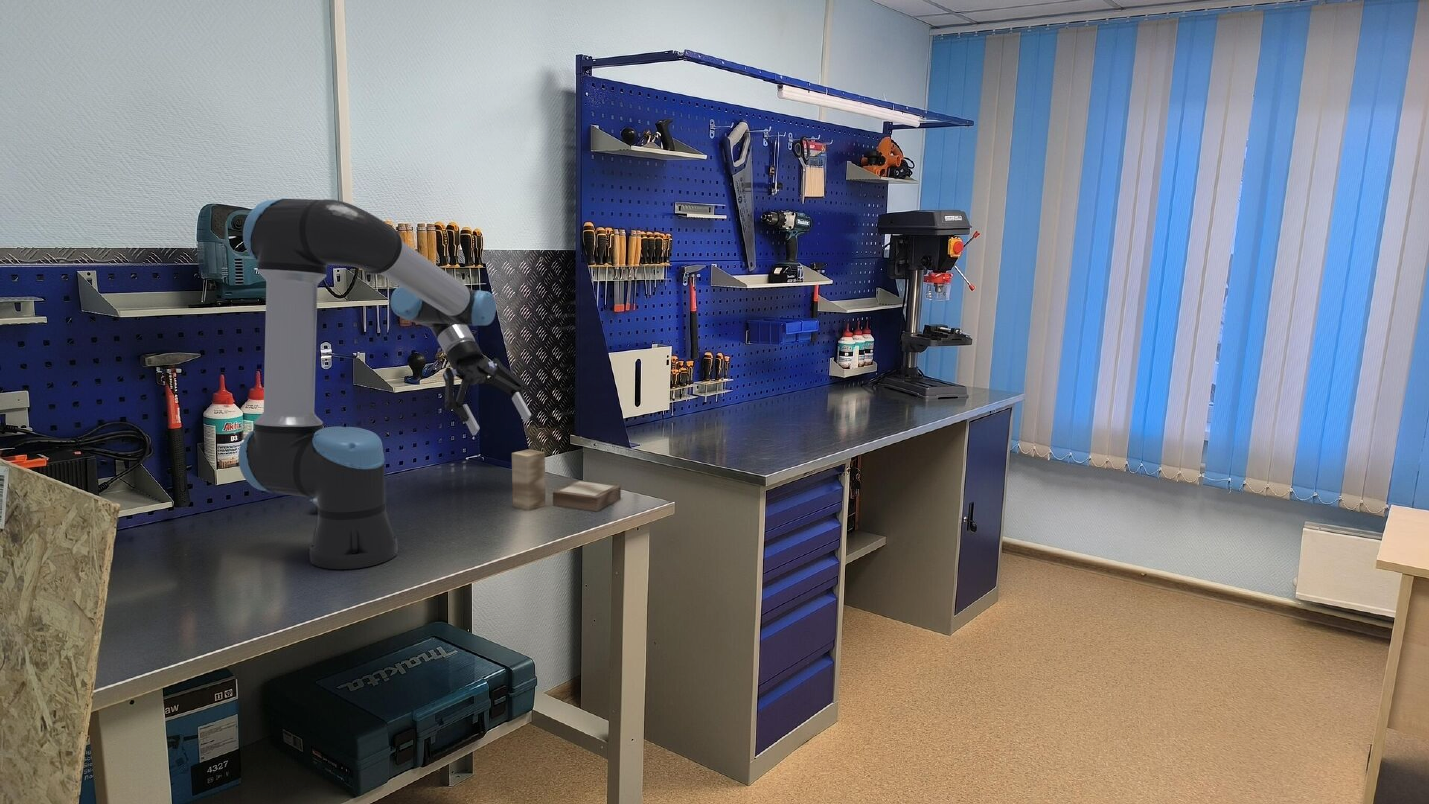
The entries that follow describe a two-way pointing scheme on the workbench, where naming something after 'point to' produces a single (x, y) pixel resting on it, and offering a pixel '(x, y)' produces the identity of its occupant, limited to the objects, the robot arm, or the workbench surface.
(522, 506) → the oak block
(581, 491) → the plinth
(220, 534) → the workbench surface
